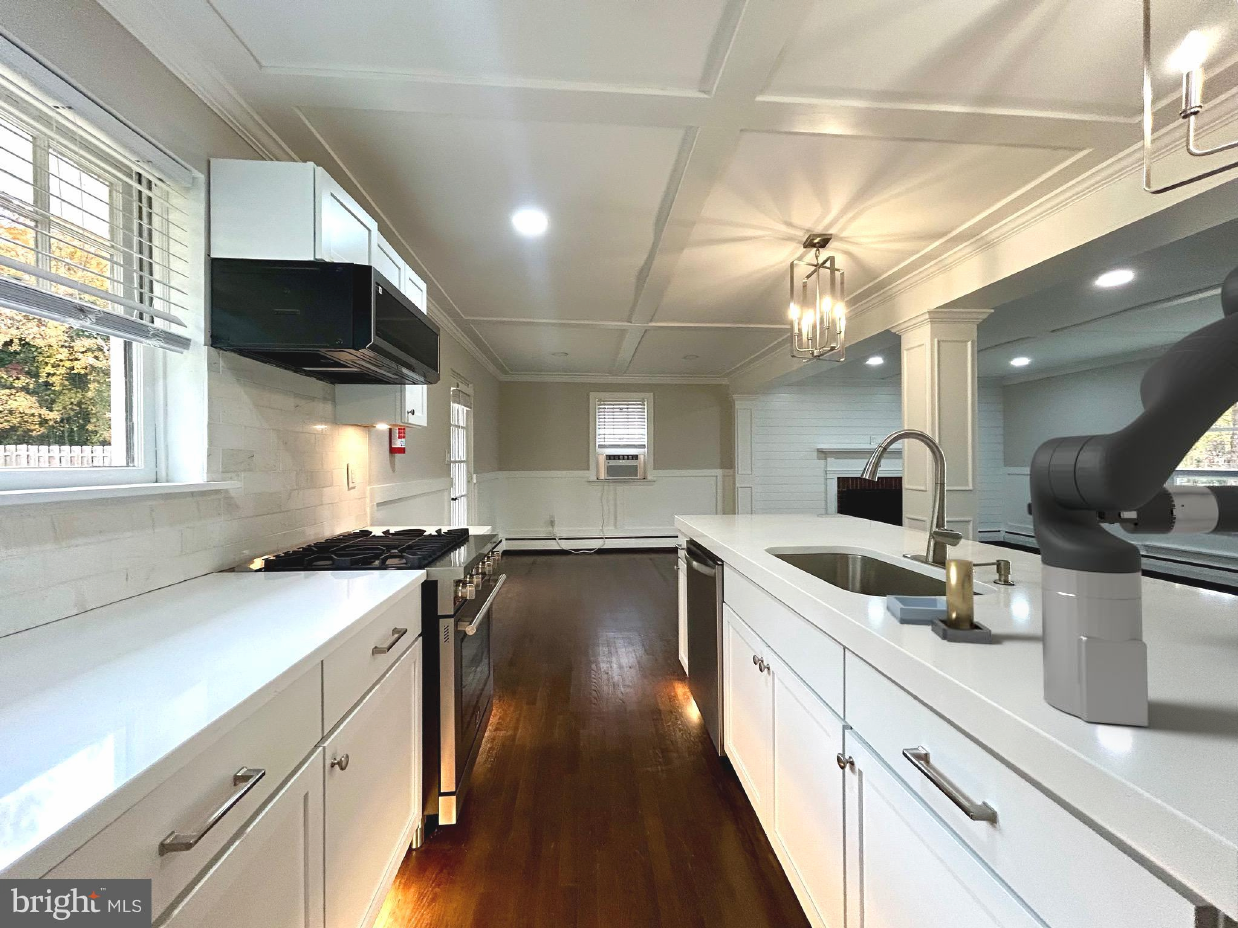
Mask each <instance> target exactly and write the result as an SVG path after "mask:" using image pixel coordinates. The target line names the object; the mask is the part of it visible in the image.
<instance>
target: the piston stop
mask: <svg viewBox="0 0 1238 928" xmlns="http://www.w3.org/2000/svg"><path fill="white" fill-rule="evenodd" d="M945 595H946V596H945V598H946V599H945V601H946V611H947V627H948V628H955V629H974V621H975V609H974V607H975V605H974V603H975V602H974V596H975V595H974V562H973V561H972V560H969V559H960V558H952V559H951V558H948V559H945Z"/></svg>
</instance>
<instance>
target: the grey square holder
mask: <svg viewBox="0 0 1238 928" xmlns="http://www.w3.org/2000/svg"><path fill="white" fill-rule="evenodd" d="M930 626H931V631H932V633H934V634H935V635H936V636H937V637H939V639H941V640H944V641H946V642H948V643H951V642H952V643H963V644H964V643H966V644H968V643H969V644H980V645H982V644H983V645H991V644H992V629H990V628H988V627H987V626H986V625H984V624H983V623H981V622H979V620H978V621H977V620H974V629H955V628H948V627H947V618H933V619H931V625H930Z"/></svg>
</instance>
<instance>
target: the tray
mask: <svg viewBox="0 0 1238 928" xmlns="http://www.w3.org/2000/svg"><path fill="white" fill-rule="evenodd" d="M887 610H888V611H887ZM886 611H887V612H888V613H889V612H890V613H891V614H890V613H889V614H890V615H891V616H892V617H893V618H894V619H895V620H896V622H898V623H899V624H900V625H919V626H921V625H922V626H931V619H933V618H947V611H946V599H944V598H942V597H937V596H935V597H934V596H917V595H916V596H915V595H914V596H911V595H910V596H909V595H892V594H891V595H888V594H887V595H886Z"/></svg>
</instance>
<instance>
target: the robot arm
mask: <svg viewBox="0 0 1238 928" xmlns="http://www.w3.org/2000/svg"><path fill="white" fill-rule="evenodd" d="M1220 304H1221V307H1222V308H1221V309H1222V312H1223V317H1222V318H1220V319H1218V320H1216V321H1214V322H1212V323H1209V324H1207V325H1206V326H1203V327H1201V328H1199V329H1196V330H1194V331H1193V332H1191V333H1189V334H1187V335H1185V336H1184V337H1183V338H1181V339H1180V340H1178V341H1177V342H1176V343H1174V344H1173V345H1172V346H1171V347H1170V348H1169V349H1167V350H1166V351H1165V352H1164V353H1163V354H1162V355H1161V356H1160V357H1159V358H1157V360H1155V361H1154V362H1153V364H1151V366H1149V367H1148V369H1147V370H1146V371H1145V372H1144V374H1143V376H1142V379H1141V380H1140V385H1139V392H1140V393H1139V395H1140V401H1141V404H1142V407H1143V409H1144V411H1143V412H1141V414H1140V415H1139V416H1138V417H1137V418H1135V419H1134V421H1132V422H1131V423H1130V424H1128V425H1127V426H1125V427H1124V428H1122V429H1120V430H1117V431H1115V432H1112V433H1105V434H1087V435H1073V436H1072V435H1071V436H1070V435H1069V436H1060V437H1058V436H1057V437H1053V438H1049V439H1047V440H1045V441H1044V442H1043V443H1041V444H1039V446H1038V447H1037V448H1036V450H1035V452H1034V454H1033V455H1032V459H1031V463H1030V467H1029V492H1030V502H1028V503H1027V504H1026V511H1027V515H1029V516H1031V517H1032V518H1031V519H1032V529H1033V531H1032V532H1033V535H1034V540H1035V542H1036V544H1037V547H1038V548H1039V551H1040V561H1041V565H1040V566H1041V567H1040V568H1041V569H1040V570H1041V571H1040V572H1041V577H1040V578H1041V587H1040V588H1041V623H1042V624H1041V626H1042V627H1041V632H1042V633H1041V634H1042V640H1041V641H1042V667H1043V669H1042V671H1043V672H1042V673H1043V674H1042V676H1043V677H1042V678H1043V700H1045V702H1047V703H1048V704H1049V705H1050V706H1052V707H1054V708H1055V709H1058V710H1059V711H1063V712H1065V713H1067V714H1070V715H1072V716H1076V717H1078V718H1080V719H1082V720H1083V721H1085V722H1090V723H1101V724H1102V723H1104V724H1113V725H1114V724H1116V725H1126V726H1127V725H1128V726H1139V727H1149V693H1148V692H1149V690H1148V689H1149V688H1148V683H1149V682H1148V646H1147V644H1146V642H1145V641H1144V640H1143V634H1144V633H1143V600H1142V597H1143V593H1142V592H1143V591H1142V588H1143V587H1142V585H1143V584H1142V554H1141V551H1140V550H1141V549H1139V548H1138V546H1136V545H1135V544H1134V543H1132V542H1129V541H1127V540H1126V539H1123V538H1120V537H1119V536H1117V535H1115V534H1113V533H1111V532H1109V531H1108V530H1107V529H1106V528H1105V527H1104V526H1102V525H1115V524H1119V527H1120V528H1121V529H1122V530H1123V531H1124V532H1125V533H1126V534H1129V535H1194V534H1195V535H1196V534H1202V533H1208V534H1209V533H1213V534H1214V533H1216V534H1217V533H1222V534H1223V533H1225V534H1226V533H1227V534H1229V533H1238V485H1235V484H1234V485H1232V484H1231V485H1227V484H1226V485H1225V484H1224V485H1191V484H1190V485H1189V484H1188V485H1187V484H1168V485H1167V484H1166V482H1167V481H1169V479H1170V478H1171V476H1172V475H1173V474H1174V472H1175V471H1176V470H1177V468H1179V467H1178V466H1180V464H1181V463H1182V462H1183V460H1184V459H1185V458H1186V456H1187V455H1188V454H1189V452H1190V451H1191V450H1192V449H1193V447H1195V445H1196V444H1197V443H1198V442H1199V440H1200V439H1201V438H1202V437H1203V436H1205V434H1206V433H1207V432H1208V431H1209V430H1210V429H1211V428H1212V427H1213V426H1214V424H1216V423H1217V421H1219V419H1220V418H1221V417H1223V416H1224V415H1225V414H1226V412H1228V411H1229V410H1230V409H1231V408H1232V407H1233V406H1234V405H1236V404H1237V403H1238V266H1236V267H1235V268H1233V269H1231V271H1230V272H1228V273H1227V275H1226V277H1225V278H1224V279H1223V283H1222V285H1221V288H1220ZM1165 484H1166V485H1165ZM1101 524H1102V525H1101Z"/></svg>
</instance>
